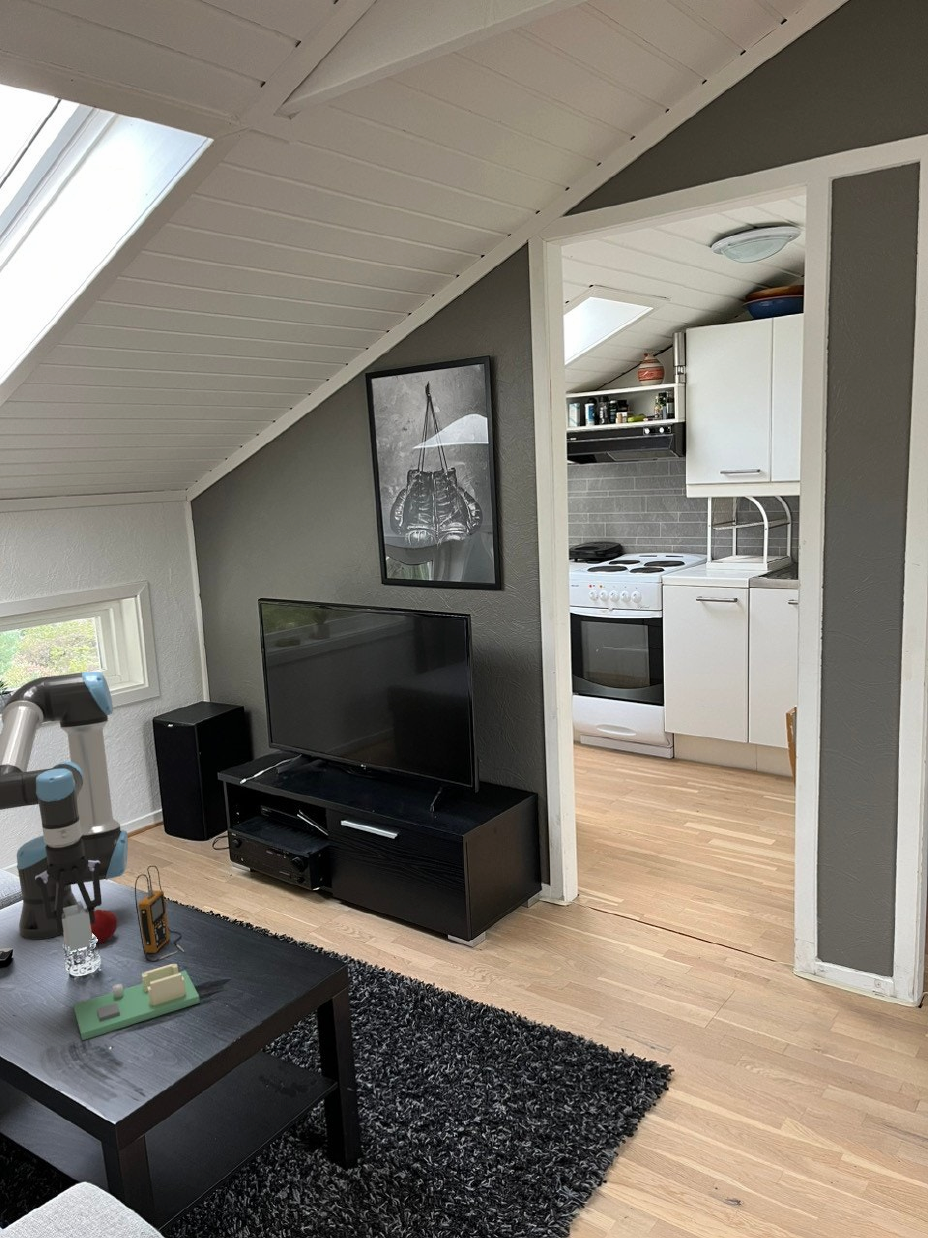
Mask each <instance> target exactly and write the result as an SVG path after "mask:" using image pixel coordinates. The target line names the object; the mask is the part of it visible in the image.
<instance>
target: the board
mask: <svg viewBox="0 0 928 1238" xmlns="http://www.w3.org/2000/svg"><path fill="white" fill-rule="evenodd" d="M141 980H142V982H141V983H139V984H136V985H133V986H131V987H127V988H124V989H123V984H122V983H117V984H114V985H113V986H112V992H110V993H106V994H103V995H100V996H97V997H94V998H90V999H87V1000H84V1001H79V1002H77V1003H74V1004H73V1008H74V1009H73V1010H74V1014H75V1018H76V1022H77V1025H78V1028H79V1033H80V1037H81V1040H82V1041H85V1040H88V1039H90V1038H93V1037H97V1036H100V1035H103V1034H107V1033H110V1032H113V1031H116V1030H118V1029H123V1028H125V1027H129V1026H131V1025H134V1024H137V1023H141V1022H143V1021H148V1020H150V1019H153V1018H156V1017H160V1016H163V1015H166V1014H168V1013H172V1012H175V1011H179V1010H181V1009H184V1008H187V1007H191V1006H193V1005H196V1004H199V1003H201V1001H200V1000H201V999H200V995H199V993H198V991H197V990H196V988H195V985H194V983H193V981H192V979H191V978H190V976H189V974H188V972H187V970H181V971H179V967H178V964H177V963H170V964H167V965H164V966H160V967H157V968H152V969H150V970H147V971H144V972H143V973H141Z"/></svg>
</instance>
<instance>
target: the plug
mask: <svg viewBox="0 0 928 1238" xmlns="http://www.w3.org/2000/svg"><path fill="white" fill-rule="evenodd" d="M84 908H85V907H84V904H83V902H82V901H81V900H77V905H73V906H69V907H66V908H63V911H64V915H65V918H66V925H67V931H68V938H69V944H70V946H68V947H69V950H70V952H73V951H76V950H79V949H84V948H87V947H88V948H89V947H91V941H89V934H88V927H87V920H86V913H85V910H84Z"/></svg>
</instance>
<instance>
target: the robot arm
mask: <svg viewBox="0 0 928 1238" xmlns="http://www.w3.org/2000/svg"><path fill="white" fill-rule="evenodd" d="M113 713H114V707H113V699H112V695H111V691H110V687H109V685H108V682H107V679H106V677H105V675H104V674H103V673H102V672H100V671H82V672H76V673H75V672H74V673H68V674H60V675H51V676H43V677H42V676H41V677H37V678H34V679H32V680H30V681H28V682H27V683H25V684H23V685H22V686H20V687H19V688H18V689H17V690H16V691H15V692H14V693H12V695H11V696H10V697H9V698H8V700H7V701H6V703H5V704H4V706H3V710H2V713H1V723H2V728H1V732H0V811H1V810H7V809H8V810H9V809H15V808H20V807H27V806H28V807H29V806H34V805H38V807H39V813H40V819H41V828H42V835H41V836H38V837H35V838H33V839H30V840H29V841H27V842H25V843H24V844H22V845H21V846H20V847H19V848H18V850H17V853H16V863H17V865H16V868H17V872H18V877H19V883H20V890H21V896H22V897H21V898H22V909H21V913H20V920H19V923H18V926H19V927H18V929H19V933H20V936H21V937H22V938H25V939H27V940H28V939H29V940H46V939H49V938H51V939H52V938H54V937H58V936H60V935H63V939H64V944H65V947H66V948H68V947H69V946H70V944H69V938H68V931H67V925H66V918H65V915H64V911H63V908H66V907H69V906H73V905H77V902H78V900H77V899H76V896H75V895H74V893H73V890H72V885H77V886H78V888H79V891H80V894H81V896H82V898H83V902H84V903H85V906H86V907H84V910H85V913H86V920H87V927H88V934H89V940H93V939H92V932H91V925H90V924H93V923H95V915H94V911H95V909H96V908H97V907H99V906H101V905H102V901H103V900H102V892H101V882H100V881H103V880H105V881H107V880H110V879H113V878H118V877H121V876H122V875H124V873H125V872H126V869H127V863H128V862H127V861H128V854H129V853H128V850H129V847H128V846H129V842H128V841H129V839H128V831H127V830H124V829H122V830H121V825H120V823H119V822H118V821H116V819H114V814H113V808H112V807H113V806H112V799H111V789H110V781H109V773H108V764H107V763H108V762H107V755H106V745H105V738H104V737H105V736H104V731H103V730H104V727H105V726H106V725H107V724H108V722H109V718H108V716H110V715H112V714H113ZM57 721H58V722H59V727H60V729H61V730H63V731H64V732H65V733H66V734H67V741H68V749H69V758H70V761H62V762H59V763H57V764H55V765H54V766H52V767H51V768H44V769H37V770H35V769H34V770H29V771H27V770H28V766H29V762H30V758H31V755H32V751H33V747H34V746H33V745H34V743H35V742H34V741H35V737H36V733H37V730H39V729H40V728H41V726H42V725H43V724H44V723H49V722H57ZM90 882H91V883H92V888H93V899H91V898H90V895H89V892H88V890H87V888H86V885H85V883H90Z"/></svg>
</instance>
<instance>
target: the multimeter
mask: <svg viewBox="0 0 928 1238" xmlns="http://www.w3.org/2000/svg"><path fill="white" fill-rule="evenodd" d="M150 868H155V869H156V871H157V875H158V884H159V890H153V886H152V882H151V881H152V879H151V875H150V872H149V869H150ZM146 871H147V875H148V876H147V875H146V874H142V873H141V874H140V875H138V876H137V877H136V879H135V883H134V884H135V885H134V898H135V899H134V900H135V907H136V914H137V919H138V920H137V921H138V925H139V926H138V927H139V931H140V939H141V944H142V949H143V953H144V958H145V959H146V960H147V961H148V962H151V963H154V962H157V961H159V960H163V959H167V958H168V957H171V955H173V954H175V953H178V951H177V950H176V951H174V952H172V953H168V954H165V955H163V956H161V957H159V958H157V959H154V960H151V959H148V957H147V954H146V953H153V954H154V953H157V952H158V951H159V950H160V949H161V948H162V946H164V945H165V944H166V943H167V942H168V941H169V940H170V933H175V934H179V937H178V938H177V939H175V940H174V941H173V944H174V945H175V946H176V947H177V949H179V951H182V952H183V953H185V951H184V949H183V947H181V946H180V945H179V944H178V943H177V941H179V940H180V939H182V934H181V933H180V932H177V931H173V930H170V927H169V923H168V917H167V903H166V900H165V893H164V892H165V891H164V890H162V887H161V885H162V884H161V882H160V881H161V879H160V878H161V877H160V872H159V868H158V866H156V865H149V866H148V867H147V870H146ZM142 876H143V877H145V878H146V882H147V884H146V885H147V895H146V896H145V897H144V898H143V899H141V900H140V901H139V902H138V898H137V882H138V880H139V878H140V877H142Z"/></svg>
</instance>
